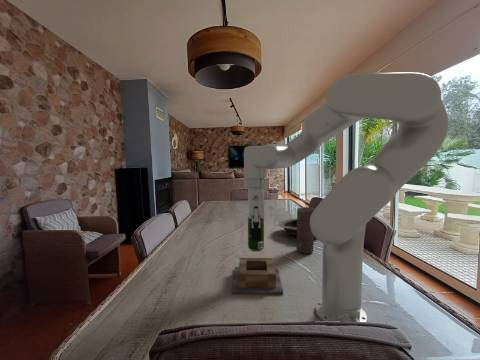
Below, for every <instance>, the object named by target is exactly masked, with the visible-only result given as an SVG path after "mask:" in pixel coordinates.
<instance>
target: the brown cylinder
mask: <svg viewBox="0 0 480 360" xmlns="http://www.w3.org/2000/svg"><path fill="white" fill-rule="evenodd" d="M314 210H315V208H314V207H312V206H311V207H310V206H308V207H306V206H305V207H297V210H296V219H297V235H296V245H295V246H296V251H298V252H299V253H305V254H309V253H313V252H314V239H313V236H314V235H313V233H312V231H311V228H310V218H311V215H312V213H313V211H314Z"/></svg>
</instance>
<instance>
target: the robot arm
mask: <svg viewBox="0 0 480 360" xmlns="http://www.w3.org/2000/svg"><path fill="white" fill-rule="evenodd" d="M364 118H368V119H376V120H384V121H385V120H386V121H387V120H388V121H393V122H394V121H395V122H397V124H398V128H397V131H396V132H395V133H394V135H393V136H392V137H391V138H390V139H389V140H388V141H387V142H385V144H384V145H383V146H381V148H380V150H379V151H377V153H376V154H375V155H374V156H373V157H372V158H371V159H370V160H369V161H368V162H367V163H366V164H365V165H362V166H361V165H360V166H358V167H356V168H355V167H354V168H353V169H351V170H349V171H348V172H347V173H346V174H345V175H344V176H342V178H340V180H339V181H338V182H337V183H336V184H335V185H334V187H332V188H331V190H330V191H329V192H328V193H327V194H326V196H324V197H323V199H322V200H321V201H320V202H319V204H318V205H317V206H316V207H315V208H314V211H313V213H312V215H311V218H310V228H311V231H312V233H313V235H314V236H315V238H316V239H315V240H318V241H319V242H320V243H322V264H321V265H322V268H321V269H322V272H321V273H322V274H321V278H322V279H321V299H319V300H318V301H317V303H316V304H315V312H316V315H317V317H318V318H319V320H321V321H322V322H323V321H340V322H367V323H368V315H367V313H366V311H365V310H364V309H363V308H362V288H363V287H362V286H363V263H364V259H363V258H364V244H365V243H364V242H365V235H366V226H367V223H369V222H370V221H371V220H372V218H374V217H375V216H376V215H378V213H379V212H380V211H382V209H383V208H385V207H386V206H387V205H388V204H389V203H390V202H392V200H393V198H394V197H395V196H396V195H397V193H398V192H399V191H400V190H401V189H402V188H403V186H405V184H407V183H408V182H409V181H410V180H411V179H412V178H413V177H414V176H415V175H416V174H418V172H419V171H420V170H421V169H422V168H423V167H424V166H425V165H426V164H427V163H429V161H430V160H431V159H432V158H433V157H434V156H435V155H436V153H437V152H438V151H439V150H440V148H441V147H442V145H443V144H444V141H445V139H446V137H447V133H448V129H449V117H448V113H447V110H446V107H445V104H444V103H443V100H442V90H441V87H440V85H439V83H438V82H437V80H436V79H435V78H433V76H430V75H428V74H425V73H421V72H411V71H410V72H408V71H407V72H404V71H403V72H361V73H360V72H359V73H358V72H357V73H348V74H345V75H342V76H340V77H339V78H337V79H335V80H334V81H333V82H332V83H331V85H329V88H328V89H327V92H326V95H325V102H324V103H323V104H322V105H319V106H318V107H317V108H316V109H314V110H313V111H312V112H311V113H308V114H307V115H306V116H305V117H304V119H303V128H302V130H301V132H300V133H299V134H298V135H297V136H296V137H294V138H293V139H291V140H290V141H288V142H286V143H285V144H283V143H282V144H280V143H279V144H278V143H267V144H262V145H249V146H245V147H244V149H243V171H244V172H243V176H244V177H243V179H244V181H243V183H244V184H243V186H244V189H247V199H248V200H247V202H248V205H247V207H248V214H249V215H248V216H250V219H251V218H252V228H251V240H261V228H260V217H261V218H263V219H264V220H265V218H266V217H265V215H266V214H265V212H266V211H265V190H264V189H267V188H268V170H277V169H287V168H290V167H292V166H295V165H296V164H298V163H300V162H301V161H303V160H305V159H306V158H308V157H310V156H311V155H312V154H314V152H316V151H317V150H318V149H319V148H320V147H321V146H322V145H323V144H324V143H326V142H327V141H329V140H330V139H333V137H336V135H339V134H341V132H343V131H345V130H346V129H348V128H350V127H351V126H353V125H355V124H356V123H358V122H359V121H361V120H363V119H364ZM251 215H252V216H251ZM253 217H254V218H253ZM258 217H259V218H258ZM253 221H254V222H253ZM258 221H259V222H258ZM253 225H254V226H253ZM253 227H254V228H253Z"/></svg>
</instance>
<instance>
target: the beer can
mask: <svg viewBox="0 0 480 360" xmlns="http://www.w3.org/2000/svg"><path fill="white" fill-rule="evenodd" d="M251 216H252V215H251ZM253 218H254V217H253ZM258 218H259V217H258ZM253 222H254V221H253ZM258 222H259V221H258ZM264 223H265V218H264V219H263V218H261V217H260V228H261V240H251V228H252V218H251V219H250V216H249V213H248V215H247V248H248V250H249V251H250V252H254V253H255V252H256V253H257V252H262V251H263V249H264V248H265V224H264ZM253 226H254V225H253ZM253 228H254V227H253Z"/></svg>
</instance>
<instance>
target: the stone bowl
mask: <svg viewBox="0 0 480 360" xmlns="http://www.w3.org/2000/svg"><path fill="white" fill-rule="evenodd" d="M277 226H278V227H280V228H283V230H284V232H285V234H288V235H293V236H297V218H291V219H285V220H283V221H281V222H279V223H277ZM313 240H317V239H316V238H315V236H313Z"/></svg>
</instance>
